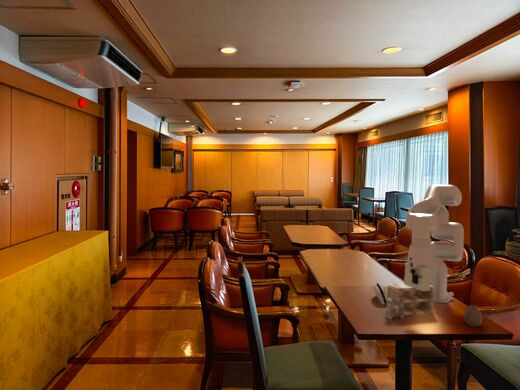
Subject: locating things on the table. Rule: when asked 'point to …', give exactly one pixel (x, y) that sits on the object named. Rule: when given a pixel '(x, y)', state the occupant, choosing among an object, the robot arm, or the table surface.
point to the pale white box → (419, 278)
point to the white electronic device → (380, 292)
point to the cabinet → (408, 301)
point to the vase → (473, 316)
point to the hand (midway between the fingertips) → (419, 282)
